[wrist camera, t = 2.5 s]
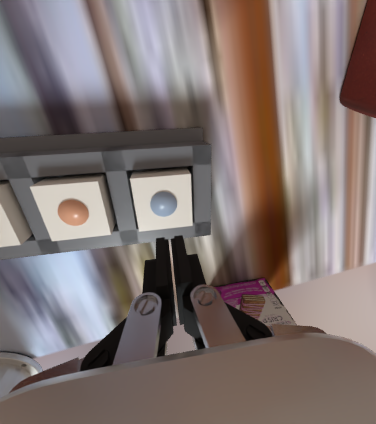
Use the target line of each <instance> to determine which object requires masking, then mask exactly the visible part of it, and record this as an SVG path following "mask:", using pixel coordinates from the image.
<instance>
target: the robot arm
mask: <svg viewBox="0 0 376 424" xmlns="http://www.w3.org/2000/svg"><path fill="white" fill-rule="evenodd" d="M171 245H172V255H173V266H174V276H175V285H176V294H177V303H178V312H179V320H180V325H182V324H184V329H185V331H186V332H187V333H188V334H190V335H191V336H192V338H193V342H194V345H195V349H196V350H194V351H188V352H183V353H177V354H171V355H167V341H168V339H169V338H170V337H171V335H172V334H173V326H176V325H177V324H176V312H175V302H174V292H173V281H172V271H171V261H170V251H169V242H168V239H165V237H162V238H156V259H152V260H145V267H144V279H143V292H142V294H141V295H139V296H138V297H136V298H135V299H134V300H133V302H132V304H131V307H130V310H129V313H128V317H126V318H125V319H124V320H123V321H122V322H121V323H120V324H119V325H118V326H117V327H116V328H114V329H113V330H112V331H111V332H110V333H109V334H108V335H107V336H106V337H105V338H104V339H103V340H101V341H100V343H98V344H97V345H96V346H95V347H94V348H93V349H92V350H91V351H90V352H89V353H88V354H87V355H86V356H85V357H84V358H83V359H80V360H79V358H75V359H73V360H70V361H68V362H65V363H63V364H60V365H58V366H55V367H52V368H50V369H47V370H45V371H43V370H42V367H41V366H40V364H38V363H37V362H36V361H35V360H33V359H32V358H29V357H27V356H24V355H20V354H16V353H7V352H0V424H376V353H374V352H373V351H372V350H370V349H369V348H367V347H366V346H364V345H362V344H360V343H358V342H356V341H353V340H350V339H347V338H344V337H339V336H335V335H330V334H326V333H325V332H324V331H323V330H321V329H319V328H316V327H312V326H297V325H282V324H271V326H266V325H265V324H264V323H262V322H261V321H259V320H257V319H255V318H253V317H251V316H250V315H248V314H246V313H244V312H242V311H240V310H238V309H237V308H235V307H233V306H231V305H229V304H227V303H225V302H224V301H223V299H222V297H221V295H220V294H219V292H218V291H217V289H216V288H214V287H213V286H210V285H206V282H205V279H204V275H203V272H202V269H201V265H200V262H199V259H198V255H197V254H192V255H187V253H186V249H185V244H184V240H183V235H179V236H174V238H173V239H171Z"/></svg>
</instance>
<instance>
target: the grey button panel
mask: <svg viewBox="0 0 376 424" xmlns="http://www.w3.org/2000/svg"><path fill="white" fill-rule="evenodd" d="M174 168H187V169H188V170H189V172H190V173H191V193H192V221H193V226H186V227H177V228H168V229H159V230H150V231H141V232H139V228H138V222H137V216H136V211H135V205H134V199H133V193H132V188H131V182H130V178H131V175H132V173H133V172H134V171H147V170H161V169H174ZM94 174H105V175H106V180H107V184H108V189H109V193H110V197H111V202H112V206H113V210H114V215H115V219H116V224H115V226H114V229H113V231H112V234H111V235H105V236H96V237H87V238H78V239H69V240H60V241H52V240H51V238H50V235H49V233H48V230H47V228H46V225H45V223H44V221H43V218H42V216H41V213H40V211H39V208H38V206H37V203H36V201H35V199H34V196H33V194H32V191H31V189H30V186H32V185H34V184H36V183H38V182H40V181H42V180H44V179H45V178H54V177H68V176H81V175H94ZM1 181H9V182H10V184H11V186H12V188H13V190H14V193H15V195H16V197H17V199H18V201H19V204H20V206H21V208H22V210H23V213H24V215H25V217H26V219H27V221H28V224H29V226H30V228H31V230H32V232H33V234H32V235H31V236H30V237H29V238H28V239H27V240H26V241H25V242H24V243H22V244H21V245H15V246H7V247H0V260H3V259H11V258H20V257H28V256H37V255H45V254H54V253H62V252H71V251H79V250H88V249H96V248H105V247H113V246H121V245H130V244H138V243H147V242H155V241H156V238H162V237H165V239H168V240H171V239H173V238H174V236H179V235H183V238H189V237H198V236H206V235H211V144H208V143H206V142H204V141H203V128H182V129H162V130H143V131H123V132H104V133H84V134H65V135H45V136H26V137H7V138H0V182H1Z"/></svg>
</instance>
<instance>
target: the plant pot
mask: <svg viewBox="0 0 376 424" xmlns="http://www.w3.org/2000/svg"><path fill="white" fill-rule="evenodd" d="M340 103H341V104H342V105H343V106H345V107H347V108H349V109H352V110H354V111H356V112H359V113H362V114H365V115H368V116H371V117H374V118H376V0H368V1H367V5H366V8H365V12H364V15H363V19H362V22H361V26H360V29H359V33H358V36H357V40H356V43H355V46H354V50H353V53H352V57H351V60H350V64H349V67H348V71H347V74H346V78H345V81H344V85H343V88H342V92H341V95H340Z"/></svg>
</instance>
